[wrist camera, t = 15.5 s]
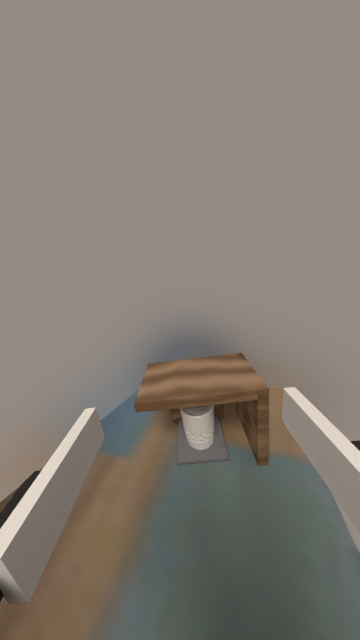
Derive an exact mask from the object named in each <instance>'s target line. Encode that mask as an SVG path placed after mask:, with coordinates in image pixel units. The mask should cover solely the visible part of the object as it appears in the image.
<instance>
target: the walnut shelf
mask: <svg viewBox="0 0 360 640" xmlns="http://www.w3.org/2000/svg"><path fill="white" fill-rule="evenodd" d="M233 402H236V407H237V414H238V416H239V419H240V421H241V424H242V426H243V429H244V431H245V434H246V436H247V439H248V441H249V444H250V446H251V449H252V451H253V454H254V456H255V459H256V461H257V464H258V466H262V465H268V448H269V389H268V387H267V386H266V385H265V383H264V382H263V381H262V379H261V378H260V377H259V375H258V374H257V373H256V371H255V370H254V369H253V367H252V366H251V365H250V363H249V362H248V361H247V359H246V358H245V357H244V355H243V354H242V353H237V354H228V355H220V356H211V357H202V358H193V359H184V360H175V361H167V362H158V363H149V364H148V367H147V369H146V372H145V375H144V377H143V380H142V383H141V386H140V388H139V391H138V394H137V397H136V399H135V402H134V405H135V409H136V412H144V411H154V410H164V409H171V412H172V418H173V422H178V420H182V417H181V412H180V408H183V407H193V406H203V405H213V404H214V416H218V418H219V417H224V415H223V403H233Z"/></svg>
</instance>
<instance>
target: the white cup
mask: <svg viewBox="0 0 360 640" xmlns="http://www.w3.org/2000/svg"><path fill="white" fill-rule="evenodd" d="M180 412H181V417H182V422H183V426H184V430H185V433H186V438H187V441H188V443H189V445H190V446H191V447H193V448H194V449H197V450H204V449H207V448H209V447H210V446H211V445H212V444H213V441H214V438H215V436H214V428H215V425H214V404H213V405H203V406H193V407H183V408H180Z"/></svg>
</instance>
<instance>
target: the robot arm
mask: <svg viewBox="0 0 360 640" xmlns="http://www.w3.org/2000/svg"><path fill="white" fill-rule="evenodd" d="M282 422H283V423H284V425H285V426H286V427H287V429H288V430H289V432H290V433H291V435H292V436H293V437H294V439H295V440H296V442H297V443H298V445H299V446H300V447H301V449H302V450H303V452H304V453H305V455H306V456H307V458H308V459H309V460H310V462H311V463H312V465H313V466H314V468H315V469H316V470H317V472H318V473H319V475H320V476H321V478H322V479H323V480H324V482H325V483H326V485H327V486H328V488H329V489H330V491H331V492H332V493H333V495H334V496H335V498H336V499H337V501H338V502H339V503H340V505H341V506H342V507H343V509H344V511H345V512H346V513H347V515H348V516H349V518H350V519H351V520H352V522H353V523H354V525H355V526H356V528H357V529H358V531H359V532H360V441H351V442H350V441H349V440H348V439H347V438H346V437H345V436H344V435H343V434H342V433H341V432H340V431H339V430H338V429H337V428H336V427H335V426H333V424H332V423H331V422H330V421H329V420H328V419H326V418H325V417H324V416H323V415H322V414H321V413H320V412H319V411H318V410H317V409H316V408H315V407H314V406H313V405H312V404H311V403H310V402H309V401H308V400H307V399H306V398H305V397H304V396H303V395H302V394H301V393H300V392H299V391H298V390H297V389H296V388H295V387H291V388H283V406H282ZM104 439H105V437H104V433H103V430H102V427H101V423H100V420H99V416H98V413H97V410H96V408H87V409H85V410H84V411H83V413H82V414H81V415H80V417H79V419H78V420H77V421H76V423H75V424H74V425H73V427H72V428H71V430H70V431H69V432H68V434H67V435H66V437H65V438H64V440H63V441H62V443H61V444H60V445H59V447H58V448H57V449H56V451H55V452H54V454H53V455H52V457H51V458H50V459H49V461H48V462H47V464H46V465H45V466H44V468H43V469H42V471H35V472H34V473H33V474H32V475H31V476H30V477H29V478H28V479H27V480H26V481H25V482H24V483H23V484H22V485H21V486H20V488H19V489H18V490H17V492H16V493H15V494H14V496H13V498H12V499H11V500H10V501H9V502H8V504H7V505H6V506H5V508H4V510H3V511H2V512H1V513H0V601H1V599H2V598H3V596H4V597H5V599H6V600H7V601H8V603H9V604H21V603H29V602H30V600H31V598H32V596H33V594H34V591H35V589H36V587H37V585H38V583H39V581H40V578H41V576H42V574H43V572H44V570H45V568H46V565H47V563H48V561H49V559H50V557H51V554H52V552H53V550H54V548H55V546H56V544H57V541H58V539H59V537H60V535H61V533H62V530H63V528H64V526H65V524H66V522H67V520H68V517H69V515H70V513H71V511H72V509H73V506H74V504H75V502H76V500H77V498H78V496H79V493H80V491H81V489H82V487H83V485H84V483H85V480H86V478H87V476H88V474H89V472H90V469H91V467H92V465H93V463H94V461H95V459H96V456H97V454H98V452H99V450H100V448H101V445H102V443H103V441H104Z"/></svg>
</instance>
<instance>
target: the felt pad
mask: <svg viewBox="0 0 360 640" xmlns="http://www.w3.org/2000/svg"><path fill="white" fill-rule="evenodd" d="M214 425H215V428H214V436H215V438H214V441H213V444H212V445H211V446H210V447H209V448H207V449H204V450H197V449H194V448H193V447H191V446H190V445H189V443H188V441H187V438H186V433H185V430H184V426H183V422H182V420H178V457H177V463H178V465H181V464H193V463H204V462H216V461H227V460H229V457H228V453H227V449H226V445H225V441H224V437H223V433H222V429H221V425H220V421H219V418H218V416H214Z"/></svg>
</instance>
